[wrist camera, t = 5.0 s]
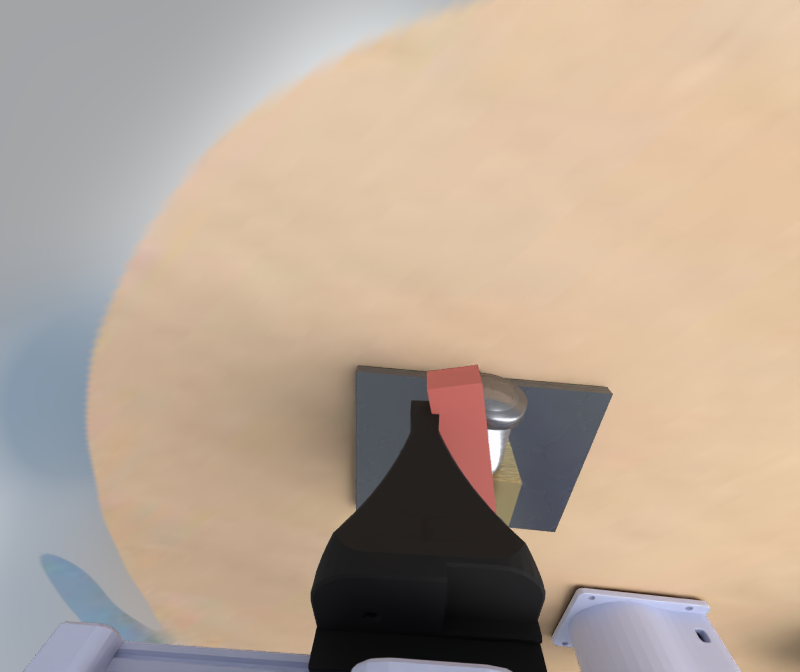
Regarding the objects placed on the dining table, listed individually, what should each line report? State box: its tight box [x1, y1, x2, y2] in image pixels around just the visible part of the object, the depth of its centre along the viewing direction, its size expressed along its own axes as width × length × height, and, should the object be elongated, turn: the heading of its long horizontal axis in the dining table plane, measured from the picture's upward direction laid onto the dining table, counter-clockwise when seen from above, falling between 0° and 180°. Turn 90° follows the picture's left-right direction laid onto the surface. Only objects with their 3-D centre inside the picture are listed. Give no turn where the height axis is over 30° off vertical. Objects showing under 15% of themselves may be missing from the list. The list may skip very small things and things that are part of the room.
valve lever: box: [427, 365, 505, 523], centre depth 14 cm, size 10×3×1 cm, turn 11°
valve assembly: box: [356, 366, 613, 532], centre depth 18 cm, size 12×13×4 cm
